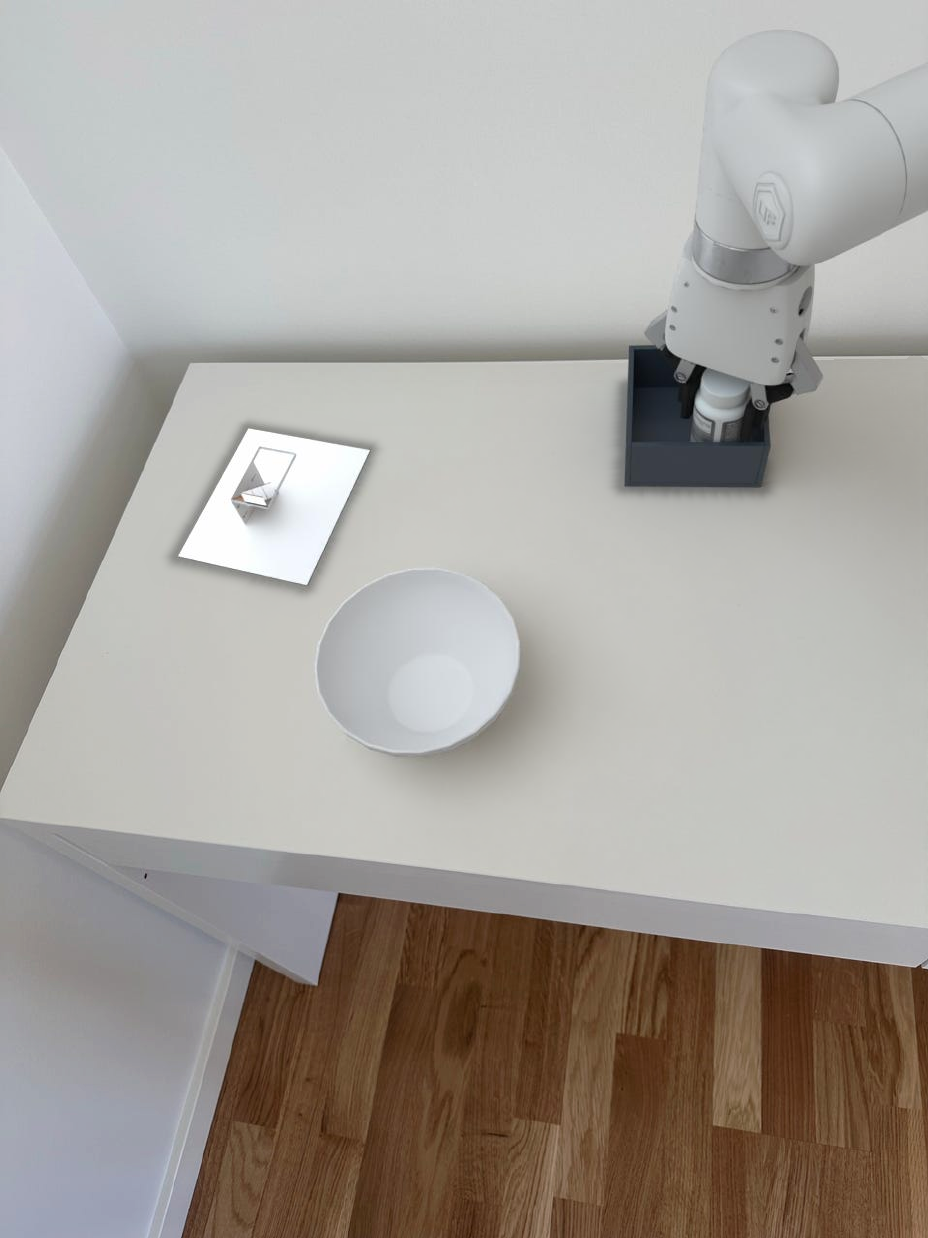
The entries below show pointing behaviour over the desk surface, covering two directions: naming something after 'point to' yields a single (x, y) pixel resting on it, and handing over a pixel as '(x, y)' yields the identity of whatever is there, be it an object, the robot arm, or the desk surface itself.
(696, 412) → the pill bottle
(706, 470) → the bin
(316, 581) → the desk surface
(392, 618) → the bowl
